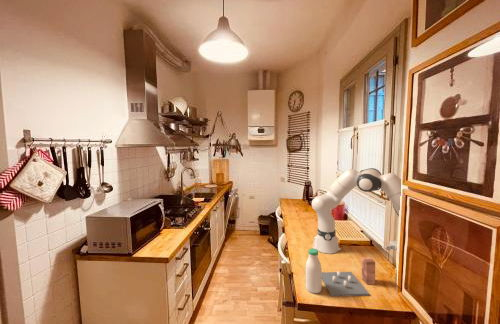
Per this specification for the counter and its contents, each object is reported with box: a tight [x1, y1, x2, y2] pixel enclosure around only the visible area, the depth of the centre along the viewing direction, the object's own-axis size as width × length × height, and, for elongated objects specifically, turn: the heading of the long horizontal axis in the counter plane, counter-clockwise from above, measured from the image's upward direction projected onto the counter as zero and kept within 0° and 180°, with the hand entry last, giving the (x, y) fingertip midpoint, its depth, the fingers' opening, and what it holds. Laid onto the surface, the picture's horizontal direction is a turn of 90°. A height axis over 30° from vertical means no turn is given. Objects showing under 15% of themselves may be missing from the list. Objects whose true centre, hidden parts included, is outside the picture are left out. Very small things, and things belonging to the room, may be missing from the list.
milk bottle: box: [305, 248, 323, 294], centre depth 105 cm, size 8×8×20 cm
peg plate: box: [321, 270, 370, 297], centre depth 109 cm, size 18×18×4 cm
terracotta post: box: [361, 256, 376, 285], centre depth 110 cm, size 4×4×12 cm
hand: (392, 252), depth 109 cm, fingers open, 8 cm apart
